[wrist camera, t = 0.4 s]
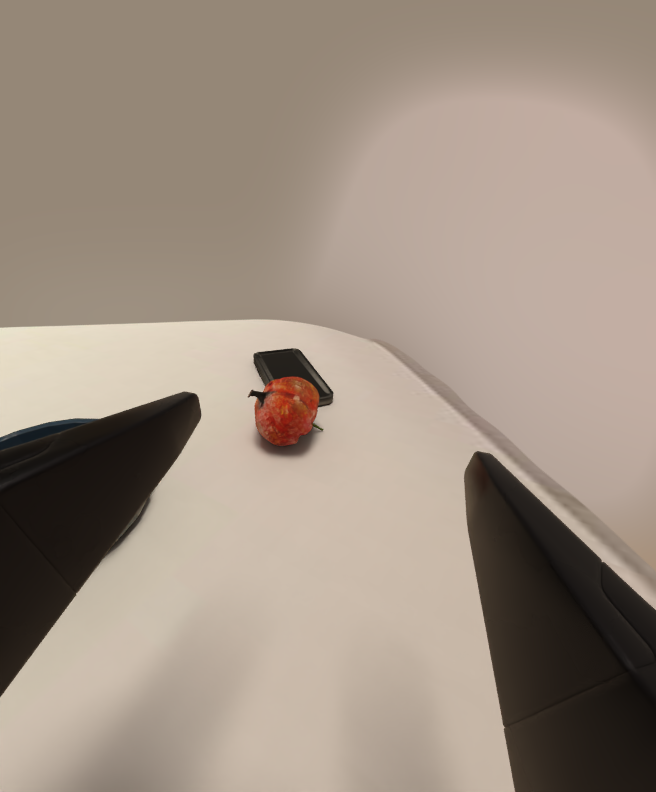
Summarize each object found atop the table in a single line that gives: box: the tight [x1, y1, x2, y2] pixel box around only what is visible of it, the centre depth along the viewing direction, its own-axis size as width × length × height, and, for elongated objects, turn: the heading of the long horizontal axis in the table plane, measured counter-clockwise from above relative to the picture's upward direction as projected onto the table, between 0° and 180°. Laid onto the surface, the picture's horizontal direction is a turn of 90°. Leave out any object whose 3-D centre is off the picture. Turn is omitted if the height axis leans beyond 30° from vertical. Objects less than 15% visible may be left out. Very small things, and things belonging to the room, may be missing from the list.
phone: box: [254, 348, 333, 406], centre depth 42 cm, size 8×1×15 cm
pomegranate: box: [248, 377, 323, 446], centre depth 31 cm, size 7×7×10 cm
